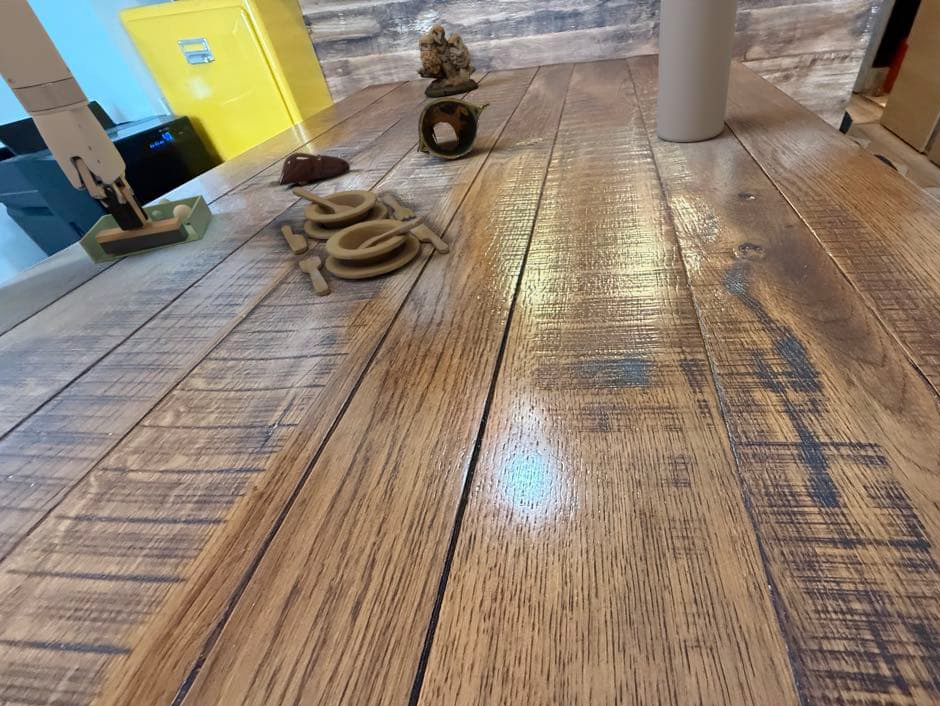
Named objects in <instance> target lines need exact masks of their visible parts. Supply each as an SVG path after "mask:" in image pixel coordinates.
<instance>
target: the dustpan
mask: <svg viewBox="0 0 940 706" xmlns="http://www.w3.org/2000/svg"><path fill="white" fill-rule="evenodd" d="M178 205H186V206H189V207H190V208H191V209H192V210H191V212H190V213H189V215H188V217H187V219H188V221H189V223H188V224H185V223H183V225H184V227H185V228H186V230H187V232H188V236H187V238H186V240H185V241H180V242H174V243H169V244H163V245H158V246H152V247H147V248H141V249H136V250H130V251H125V252H119V253H114V254H108V255H107V254H106V253H105V251H104V250H103V248H102V247H101V245H100V244H99V242H98V241H97V239H96V238H95V237H96V236H97V235H98V233H99V232H100V231H102V230H108V229H114V228H119V225H118V224H117V222H116V221H115V219H114V218H113V216H112V215H111V213H110V214H105V215H102V216H101V217H100V218H99V219H98V220H97V221H96V222H95V224H93V226H92V227H91V228H90V229H89V230H88V231H87V233H85V234H84V236H83V237H81V238H80V240H79V241H78V243H79V245H80V246H81V248H82V249H83V250H84V251H85V252H86V254H87V256H88V257H89V258H90V259H91V260H92V262H93V263H94V264H98V263H102V262H106V261H111V260H115V259H120V258H124V257H128V256H132V255H137V254H141V253H145V252H151V251H154V250H158V249H163V248H167V247H173V246H176V245H180V244H184V243H185V244H186V243H189V242H194V241H198V240H202V239H203V237H204V235H205V232H206V231H207V229H208V226H209V223H210V222H211V219H212V217H213V212H212V210H211V209H210V207H209V205H208V204H207V201H206V199H205V198H204V195H202V194H199V195H195V196H190V197H185V198H180V199H176V200H170V199H168V198H162V199H160V200H159V202H158V203H157V204H152V205H147V206H144V207H143V206H142V208H143V209H144V211H145V213H146V214H147V216H149V217H150V218H151V220H152V221H153V222H154V221H160V220H166V219H171V218H175V217H174V214H173V211H174V208H175V207H176V206H178Z"/></svg>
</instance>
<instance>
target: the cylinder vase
mask: <svg viewBox="0 0 940 706" xmlns="http://www.w3.org/2000/svg"><path fill="white" fill-rule="evenodd" d="M738 2H739V0H660V8H659V11H660V12H659V35H658V37H659V38H658V40H659V41H658V67H657V68H658V70H657V71H658V72H657V98H656V99H657V101H656V128H655V129H656V135H657V136H658V137H659V139H662V140H664V141H667V142H674V143H693V142H694V143H695V142H700V141H705V140H709V139H712V138H715V137H716V136H718V135H720V134H721V133H722V132H723V130H724V127H725V118H726V110H727V100H728V93H729V82H730V74H731V66H732V55H733V48H734V47H733V46H734V39H735V29H736V20H737V13H738Z"/></svg>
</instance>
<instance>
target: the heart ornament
mask: <svg viewBox="0 0 940 706" xmlns="http://www.w3.org/2000/svg"><path fill="white" fill-rule="evenodd" d="M350 169H351V166H350V164H349V163H348V161H347V160H345V159H343V158H341V157H338V156H332V155H326V154H317V155H316V154H312V153H307V152H299V151H298V152H293V153H291V154H289V155H288V156H287V157H286V158H285V159H284V161H283V164H282V168H281V173H280V178H279V186H281V187H282V186H288V185H291V184H295V183H297V184H299V185H301V186H303V185H306V184H307V183H309V181H312V180H313V181H316V180H318V179H319V180H320V179H325V178H329V177H330V178H331V177H335V176H339V175H342V174H345V173H347V172H349V171H350Z"/></svg>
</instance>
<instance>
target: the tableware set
mask: <svg viewBox="0 0 940 706" xmlns="http://www.w3.org/2000/svg"><path fill="white" fill-rule="evenodd" d="M291 191H292V194H293V195H294V196H296V197H298V198H301V199H303V200H306V201H308V202H310V204H308V205H307V206H306V207H305V208H304V210H303V215H304V218H306V219H307V221H306V222H305V224H304V232H305V233H306V235H308V237H310V238H313V239H319V240H327V241H326V243H325V246H324V247H325V251H326V252H327V254H328V255H329V256H328V257H327V258H326V260H325V268H326V270H327V271H328V273H330V274H331V275H333V276H335V277H337V278H342V279H348V280H352V279H353V280H355V279H356V280H357V279H364V278H371V277H375V276H379V275H383V274H386V273H389V272H391V271H394V270H396V269H398V268H401V267H403V266H405V264H407V263H409V262H410V261H411V260H412V259H414V257H416V255H417V254H418V253H419V250H420V246H421V245H420V242H422V243H431V244H432V246H433V247H434V248H435V250H436V251H437V252H438V253H439V254H443V255H444V254H447V253H449V252H450V246H449V245H448V244H447V243H446V242H445V241H443V239H442V238H440V237H439V236H438V235H437V234H436V233H435V232H434V231H432V229H430V228H429V227H428V226H427V225H426V224H425V221H426V218H425V217H424V216H423V215H420V216H417V215H416V213H414V212H413V210H411V208H406V207H402V206H401V205H400V204H399V202H398V201H397V200H396V199H395V198H394V197H393V195H384V196H383V197H382V198H381V200H382V203H380V202H377V200H378V197H377V195H376V193H374V192H373V191H371V190H367V189H351V190H343V191H338V192H334V193H331V194H327V195H325V196H323V197H321V196H320V195H317V194H316V193H313V192H311V191H310V190H307V189H305V188H302V187H300V186H294V187H293V188H291ZM387 207H389V208H390V209H391V210H393V217H394V218H395V219H387V216H388V213H389V211H388V208H387ZM410 219H411V220H410ZM408 220H409V221H408ZM404 221H407V222H404ZM280 230H281V232H282V234H283V237H284V238H285V240H286V241H287V243H288V245H289V247H290V249H291V250H292V252H293V254H294V256H295V255H299V254H302V253H304V252H306V251H307V250H308V243H307V240H306V238H305V237H304V235H302V234H299V233H298V234H294V232H293V229H292V227H291V226H290V225H283V226H281V228H280ZM298 264H299V267H300V269H301V271H302V272H303V273H305V274H309V275H310V278H311V283H312V285H313V288H314V291H315V294H316V295H317V296H318V297H322V296H326V295H328V294H329V293H330V291H331V290H330V288H329V286H328V283H327V282H326V280H325V278H324V277H323V275H322V274H321V272H320V270H321V269H322V267H323V263H322V260H321V258H320V256H319V255H316V256H313V257H312V258H309V257H308V258H306V260H303V259H302V260H299V261H298Z"/></svg>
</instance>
